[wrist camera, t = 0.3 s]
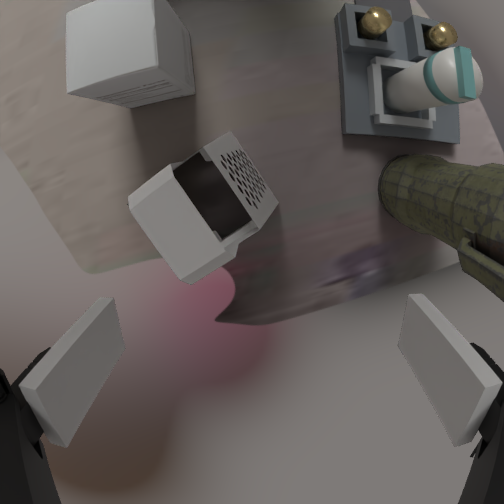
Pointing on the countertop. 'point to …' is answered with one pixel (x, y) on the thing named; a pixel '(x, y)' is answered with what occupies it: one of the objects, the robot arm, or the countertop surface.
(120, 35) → the supplement box
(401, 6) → the mat
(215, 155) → the grater
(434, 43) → the plunger
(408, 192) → the thermos
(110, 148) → the countertop surface
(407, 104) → the cartridge
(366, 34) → the plunger
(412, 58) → the housing
